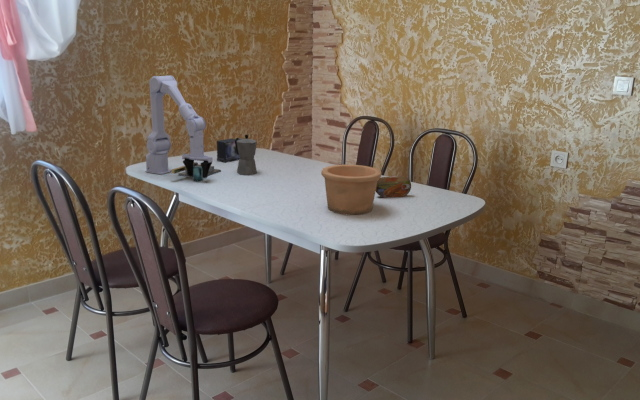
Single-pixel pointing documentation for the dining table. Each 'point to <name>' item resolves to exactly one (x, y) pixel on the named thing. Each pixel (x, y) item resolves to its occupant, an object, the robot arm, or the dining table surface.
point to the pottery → (350, 188)
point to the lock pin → (181, 168)
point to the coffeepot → (246, 155)
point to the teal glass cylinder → (197, 173)
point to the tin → (393, 186)
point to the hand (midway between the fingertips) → (197, 176)
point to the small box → (227, 150)
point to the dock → (210, 172)
